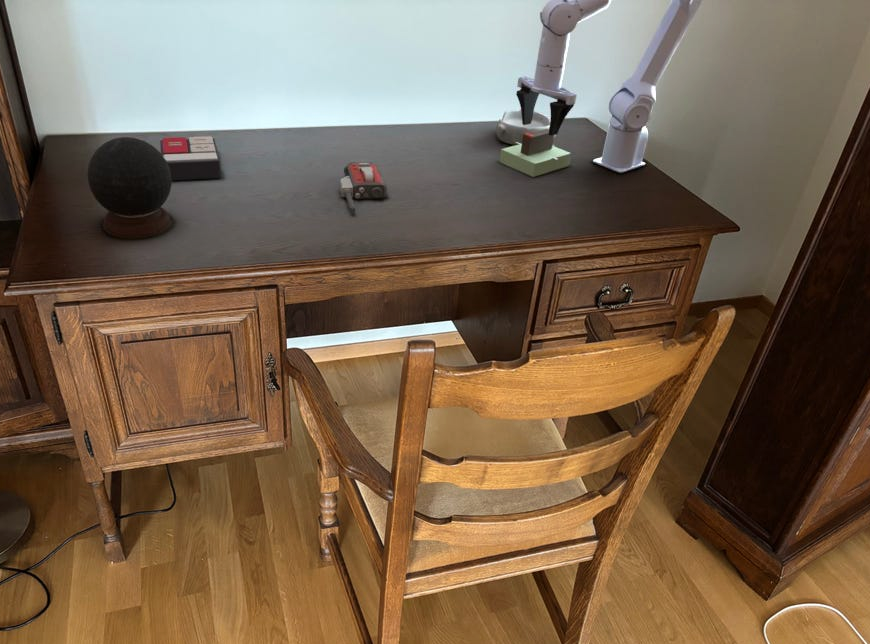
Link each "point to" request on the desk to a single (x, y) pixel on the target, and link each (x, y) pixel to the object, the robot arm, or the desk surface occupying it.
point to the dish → (519, 126)
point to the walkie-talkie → (362, 182)
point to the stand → (535, 160)
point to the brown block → (536, 142)
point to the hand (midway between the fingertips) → (539, 129)
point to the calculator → (191, 157)
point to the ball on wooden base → (131, 187)
